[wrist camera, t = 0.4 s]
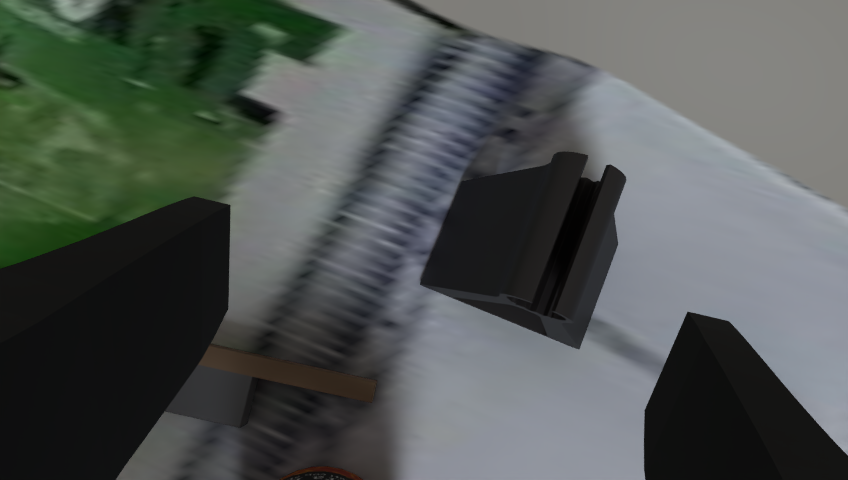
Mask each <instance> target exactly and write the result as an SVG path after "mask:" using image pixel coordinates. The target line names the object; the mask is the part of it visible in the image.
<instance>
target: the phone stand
mask: <svg viewBox="0 0 848 480" xmlns="http://www.w3.org/2000/svg"><path fill="white" fill-rule="evenodd" d="M587 159H588V155H585V154H580V153H575V152H558V153H556V154H554V156H553V158H552V161H551V163H549V164H547V165H545V166H540V167H535V168H529V169H524V170H519V171H513V172H508V173H503V174H497V175H492V176H487V177H481V178H476V179H471V180H466V181H462V182H461V185H460V187H459V190H458V192H457V194H456V197H455V199H454V202H453V204H452V207H451V209H450V212H449V214H448V217H447V219H446V221H445V224H444V226H443V229H442V231H441V234H440V236H439V239H438V241H437V244H436V246H435V248H434V251H433V253H432V256H431V258H430V261H429V263H428V266H427V268H426V271H425V273H424V275H423V278H422V280H421V283H420V285H422V286H424V287H427V288H429V289H431V290H434V291H436V292H439V293H441V294H444V295H446V296H449V297H451V298H453V299H456V300H458V301H461V302H463V303H466V304H468V305H471V306H473V307H475V308H478V309H480V310H483V311H485V312H488V313H490V314H493V315H495V316H498V317H501V318H502V319H505V320H507V321H510V322H512V323H515V324H517V325H520V326H522V327H524V328H527V329H529V330H532V331H534V332H537V333H539V334H542V335H544V336H546V337H549V338H551V339H554V340H556V341H559V342H561V343H564V344H566V345H569V346H571V347H574V348H576V349H580V346H581V343H582V341H583V338H584V335H585V333H586V330H587V327H588V324H589V322H590V319H591V316H592V314H593V311H594V308H595V306H596V303H597V300H598V297H599V295H600V292H601V289H602V287H603V284H604V281H605V278H606V276H607V273H608V270H609V268H610V265H611V262H612V260H613V257H614V254H615V251H616V249H617V246H618V240H617V232H616V225H615V218H614V212H615V209H616V207H617V204H618V201H619V199H620V196H621V193H622V191H623V188H624V185H625V183H626V177H625V175H624V174H623V173H622V172H621V171H620V170H618V169H617V168H616V167H614V166H612V165H606V168H605V170H604V173H603V176H602V178H601V181H596V182H593V181H591V180H590V179H588V178H582V177H581V175H582V173H583V170H584V167H585V165H586V162H587Z"/></svg>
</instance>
